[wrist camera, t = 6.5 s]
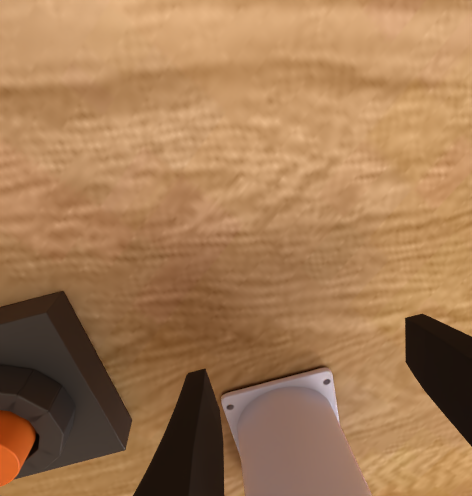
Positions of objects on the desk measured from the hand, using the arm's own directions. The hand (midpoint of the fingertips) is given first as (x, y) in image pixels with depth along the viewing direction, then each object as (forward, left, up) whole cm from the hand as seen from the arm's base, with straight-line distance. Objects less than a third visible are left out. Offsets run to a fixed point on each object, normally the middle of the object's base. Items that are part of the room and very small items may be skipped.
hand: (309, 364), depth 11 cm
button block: (-4, +16, -8) cm, 18 cm away
